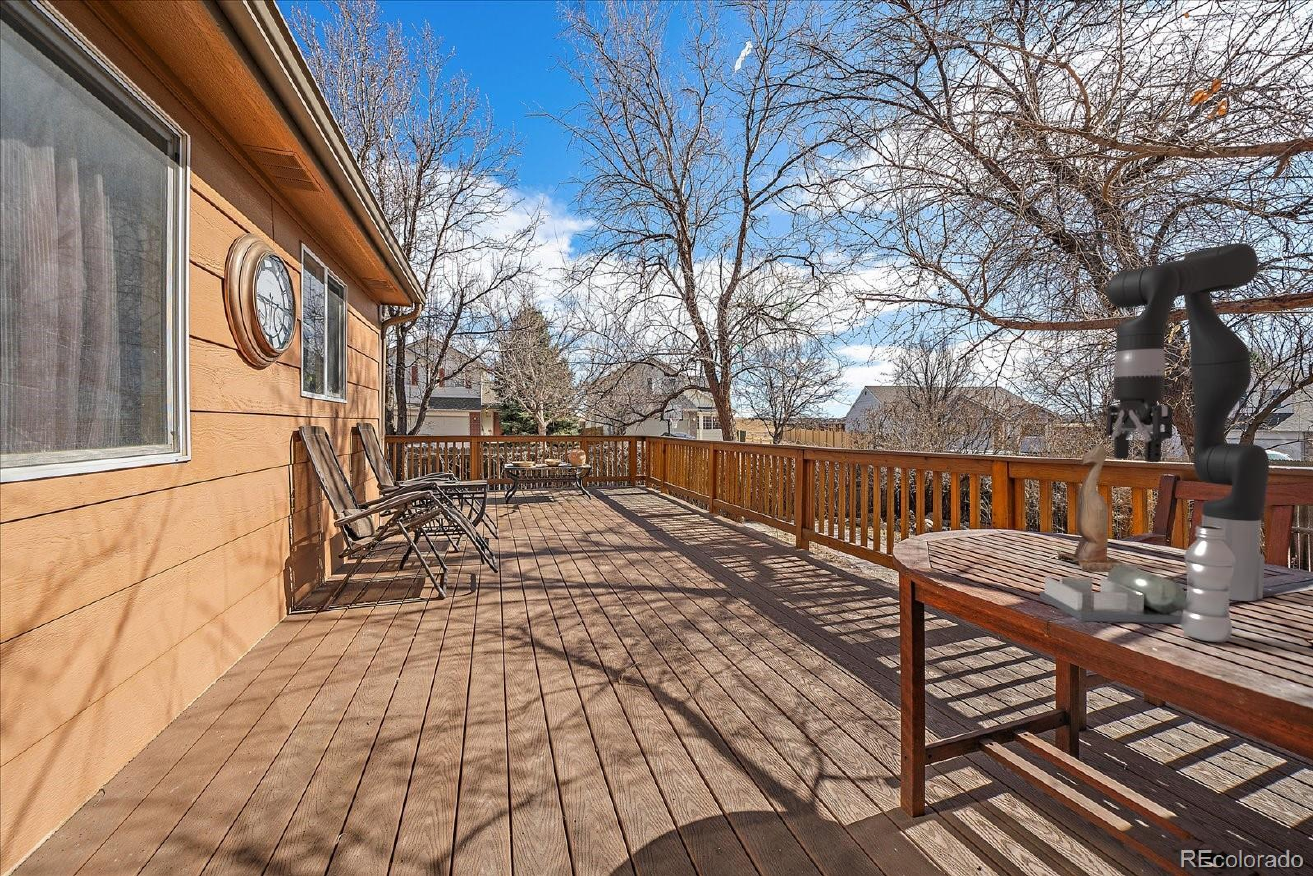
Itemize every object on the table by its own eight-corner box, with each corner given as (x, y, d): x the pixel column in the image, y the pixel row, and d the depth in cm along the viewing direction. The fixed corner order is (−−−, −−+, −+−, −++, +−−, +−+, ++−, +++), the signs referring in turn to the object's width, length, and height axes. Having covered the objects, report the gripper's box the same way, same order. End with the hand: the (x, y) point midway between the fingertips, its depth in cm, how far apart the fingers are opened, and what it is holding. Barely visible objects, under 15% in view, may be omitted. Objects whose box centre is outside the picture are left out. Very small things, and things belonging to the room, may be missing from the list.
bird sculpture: (1054, 562, 159) (1055, 443, 157) (1099, 561, 159) (1100, 442, 157) (1082, 573, 148) (1083, 446, 146) (1130, 572, 148) (1132, 445, 146)
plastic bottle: (1178, 629, 109) (1183, 522, 108) (1229, 638, 105) (1234, 527, 104) (1180, 640, 104) (1185, 527, 103) (1234, 650, 100) (1239, 533, 99)
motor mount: (1137, 600, 126) (1139, 563, 126) (1191, 623, 112) (1193, 582, 112) (1039, 597, 128) (1040, 561, 127) (1081, 621, 114) (1082, 580, 113)
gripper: (1190, 372, 104) (1186, 463, 105) (1134, 376, 118) (1131, 457, 119) (1144, 372, 105) (1141, 463, 106) (1093, 377, 119) (1091, 457, 120)
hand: (1136, 460), depth 112 cm, fingers open, 8 cm apart
